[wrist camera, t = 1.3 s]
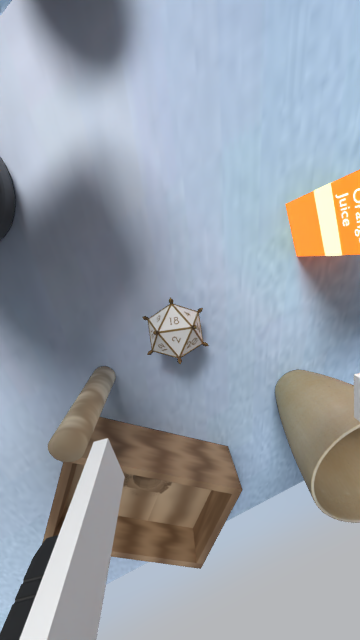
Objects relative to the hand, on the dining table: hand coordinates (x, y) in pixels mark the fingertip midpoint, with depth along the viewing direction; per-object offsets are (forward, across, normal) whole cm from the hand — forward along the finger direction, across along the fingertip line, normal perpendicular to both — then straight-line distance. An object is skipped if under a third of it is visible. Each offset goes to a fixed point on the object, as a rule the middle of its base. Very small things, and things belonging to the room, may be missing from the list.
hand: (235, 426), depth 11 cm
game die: (+23, -2, -1) cm, 23 cm away
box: (+23, -15, -27) cm, 38 cm away
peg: (+23, -16, -6) cm, 28 cm away
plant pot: (+23, +15, -18) cm, 33 cm away
